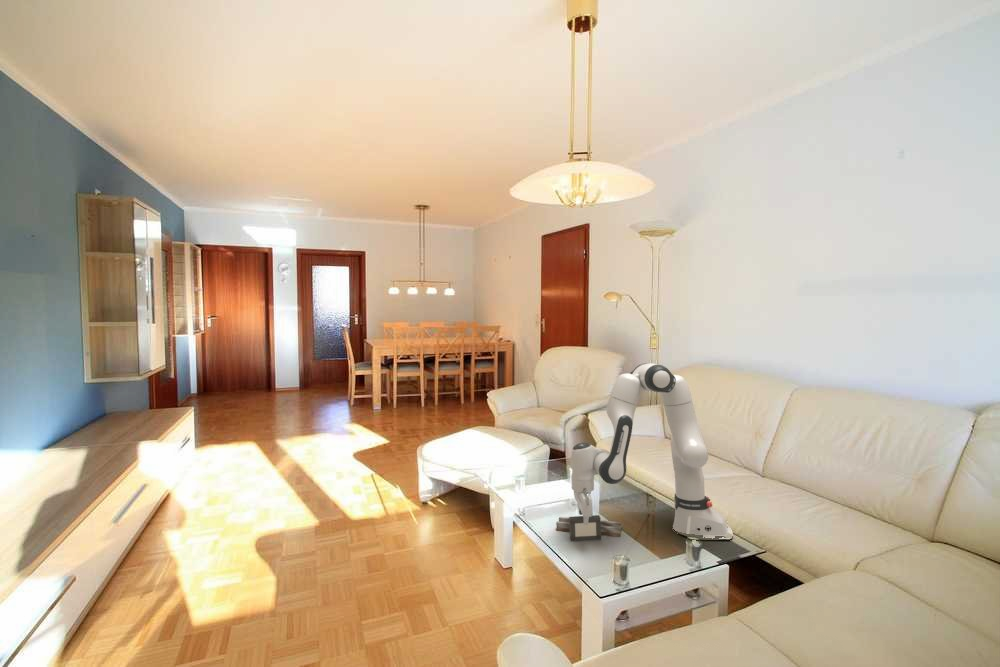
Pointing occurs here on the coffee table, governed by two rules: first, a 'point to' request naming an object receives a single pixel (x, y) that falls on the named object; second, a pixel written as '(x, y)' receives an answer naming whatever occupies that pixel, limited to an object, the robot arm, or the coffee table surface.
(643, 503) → the coffee table surface
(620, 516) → the coffee table surface
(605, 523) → the ledge
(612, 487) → the coffee table surface
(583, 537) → the frame
